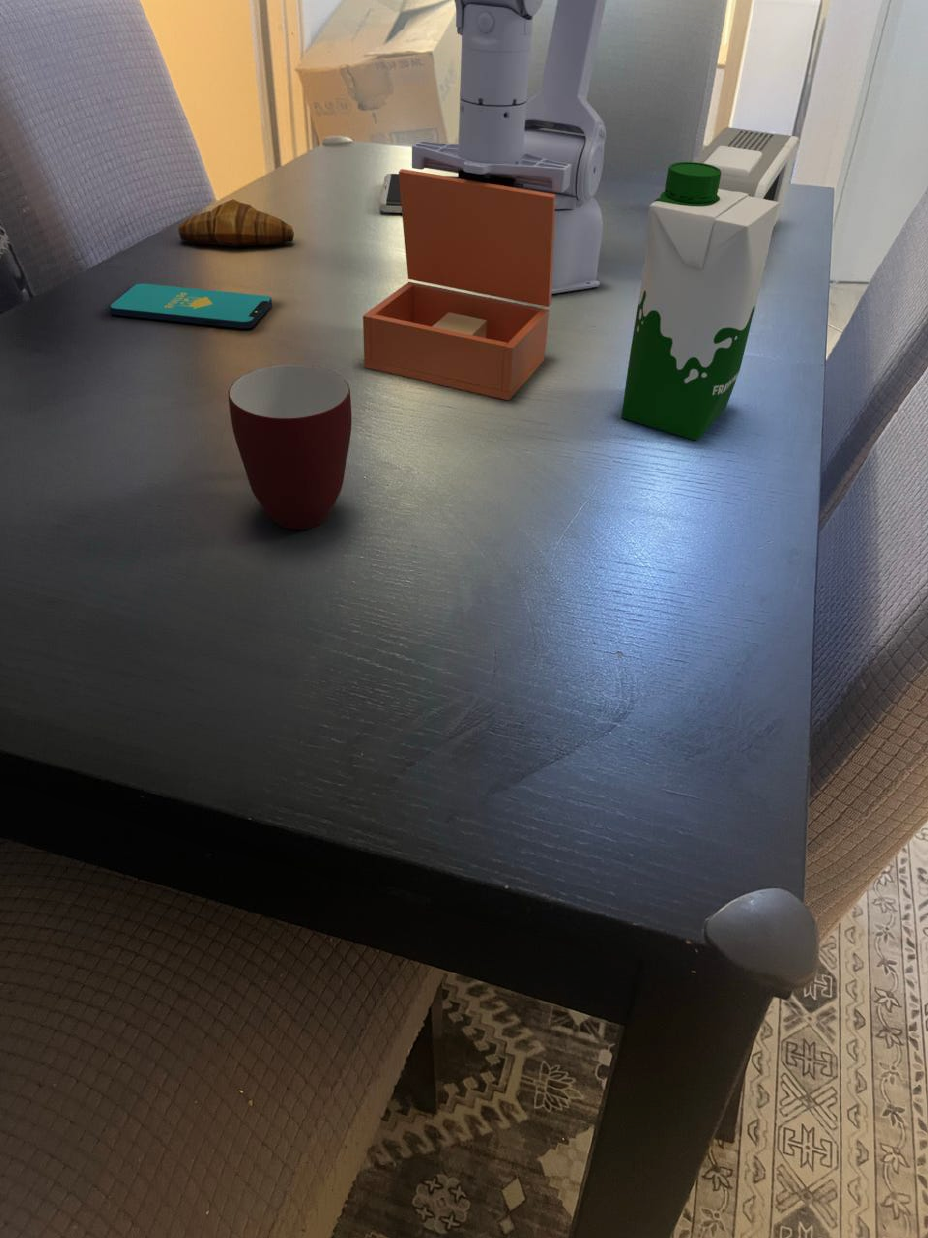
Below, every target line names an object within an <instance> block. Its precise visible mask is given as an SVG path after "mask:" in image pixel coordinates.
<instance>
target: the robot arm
mask: <svg viewBox="0 0 928 1238" xmlns="http://www.w3.org/2000/svg"><path fill="white" fill-rule="evenodd" d="M543 1H544V0H454V5H455V27H456V33H457V34H458V35H460V36H461V54H460V55H461V57H460V86H459V87H460V88H459V90H460V91H459V118H458V121H459V122H458V143H444V142H431V141H424V140H420V141H418V142H416V143H414V144H412V146H411V168H412V169H415V170H421V171H423V170H424V169H428V170H435V171H441V172H446V173H452V174H458V175H457V177H458V178H459V179H465V180H471V181H477V182H483V183H489V184H495V185H501V186H507V187H513V188H519V189H526V190H532V191H538V192H544V193H550V194H555V218H554V242H553V267H552V292H551V295H555V294H561V293H566V292H573V291H580V290H586V289H592V288H598V287H600V283H601V282H600V281H599V280H598V279H597V276H598V268H599V261H600V253H601V246H602V245H601V244H602V237H603V230H604V229H603V227H604V222H603V214H602V209H601V207H600V205H599V204H598V202H597V200H596V199H595V198H594V196H595V195H596V192H597V191H598V187H599V185H600V182H601V178H602V174H603V167H604V159H605V144H606V138H607V130H606V126H605V122H604V121H603V119H602V118H601V116H600V115H599V114H598V113H597V112H596V110H595V109H594V108H593V107H592V106H591V104H590V103H589V101H588V100H587V97H588V93H589V87H590V84H591V83H590V82H591V77H592V73H593V69H594V62H595V58H596V54H597V49H598V48H597V47H598V44H599V39H600V33H601V28H602V24H603V18H604V15H605V14H604V13H605V9H606V4H607V0H556V6H555V11H554V16H553V21H552V26H551V27H552V28H551V32H550V39H549V43H548V48H547V53H546V59H545V65H544V69H543V75H542V79H541V80H542V81H541V86H540V90H539V91H538V92H537V93H536V94H535V95H533V96H532V97H530V98H529V99H527V98H528V86H529V74H530V73H529V72H530V58H531V47H532V32H533V20H534V16H535V15H536V14H537V13H538V12H539V10H540V9H541V7H542V5H543ZM547 129H548V130H547ZM552 130H554V131H552ZM566 132H567V133H566ZM568 132H569V133H568ZM573 133H575V134H573ZM580 134H582V135H580Z"/></svg>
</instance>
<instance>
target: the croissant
mask: <svg viewBox="0 0 928 1238" xmlns="http://www.w3.org/2000/svg"><path fill="white" fill-rule="evenodd" d="M177 232H178V235H179V239H180V240H181V241H185V242H189V243H193V244H204V245H221V246H228V247H243V246H267V245H268V246H269V245H281V244H286V243H290V242H292V241H293V240H294V235H295V233H294V229H293V226H291V225H290V224H288V223H287V222H285V221H284V220H282V219H280V218H278V217H276V216H274V215H271V214H269V213H267V212H264V211H260V210H257V208H255V207H254V206H252V205H250V204H248V203H243V202H240V201H238V200H235V199H230V200H227V201H226V202H223V203H221V204H219V205H217V206H215V207H214V208H212V209H211V210H209V211H205V212H201V213H199V214H196V215H194V216H192V217H189V218H188V219H186V220H184V221H183V222H182V223H180V224H179V225H178V230H177Z"/></svg>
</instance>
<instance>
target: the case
mask: <svg viewBox="0 0 928 1238" xmlns="http://www.w3.org/2000/svg"><path fill="white" fill-rule="evenodd" d="M449 312H450V313H454V314H459V315H464V316H469V317H474V318H478V319H483V320H487V331H486V338H482V337H478V336H473V335H468V334H464V333H459V332H454V331H450V330H445V329H440V328H436V327H432V326H433V325H434V324H436V323H437V322H438V321H439V320H440V319H441V318H443V317H444V316H445V315H446V314H447V313H449ZM549 318H550V309H547V308H542V307H539V306H532V305H528V304H523V303H518V302H513V301H508V300H507V301H506V300H502V299H497V298H493V297H487V296H483V295H478V294H474V293H473V294H472V293H468V292H463V291H458V290H454V289H448V288H443V287H438V286H433V285H430V284H429V285H428V284H424V283H418V282H413V281H407V282H406V283H405V284H403V285H402V286H401V287H399V288H398V289H397V290H396V291H394V292H393V293H391V294H390V295H389V296H387V297H386V298H385V299H383V300H382V301H381V302H379V303H378V304H376V305H375V306H374V307H373V308H371V309H370V310H368V311H367V312H366V313H364V314H363V315H362V333H363V335H362V337H363V366H364V368H366V369H370V370H374V371H375V370H376V371H380V372H384V373H389V374H393V375H397V376H402V377H405V378H410V379H414V380H418V381H423V382H427V383H432V384H434V385H435V384H436V385H440V386H445V387H449V388H453V389H457V390H460V391H461V390H462V391H465V392H470V393H474V394H478V395H483V396H487V397H492V398H496V399H499V400H504V401H510V400H511V399H512V398H513V397H514V395H516V394H517V392H518V391H519V390H520V388H521V387H523V385H524V384H525V383H526V382H527V380H529V378H531V376H532V375H533V374H534V373H535V371H536V370H537V369H538V368H539V367H540V366H541V365H542V363H543V362H544V361H545V359H546V350H547V339H548V328H549Z"/></svg>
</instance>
